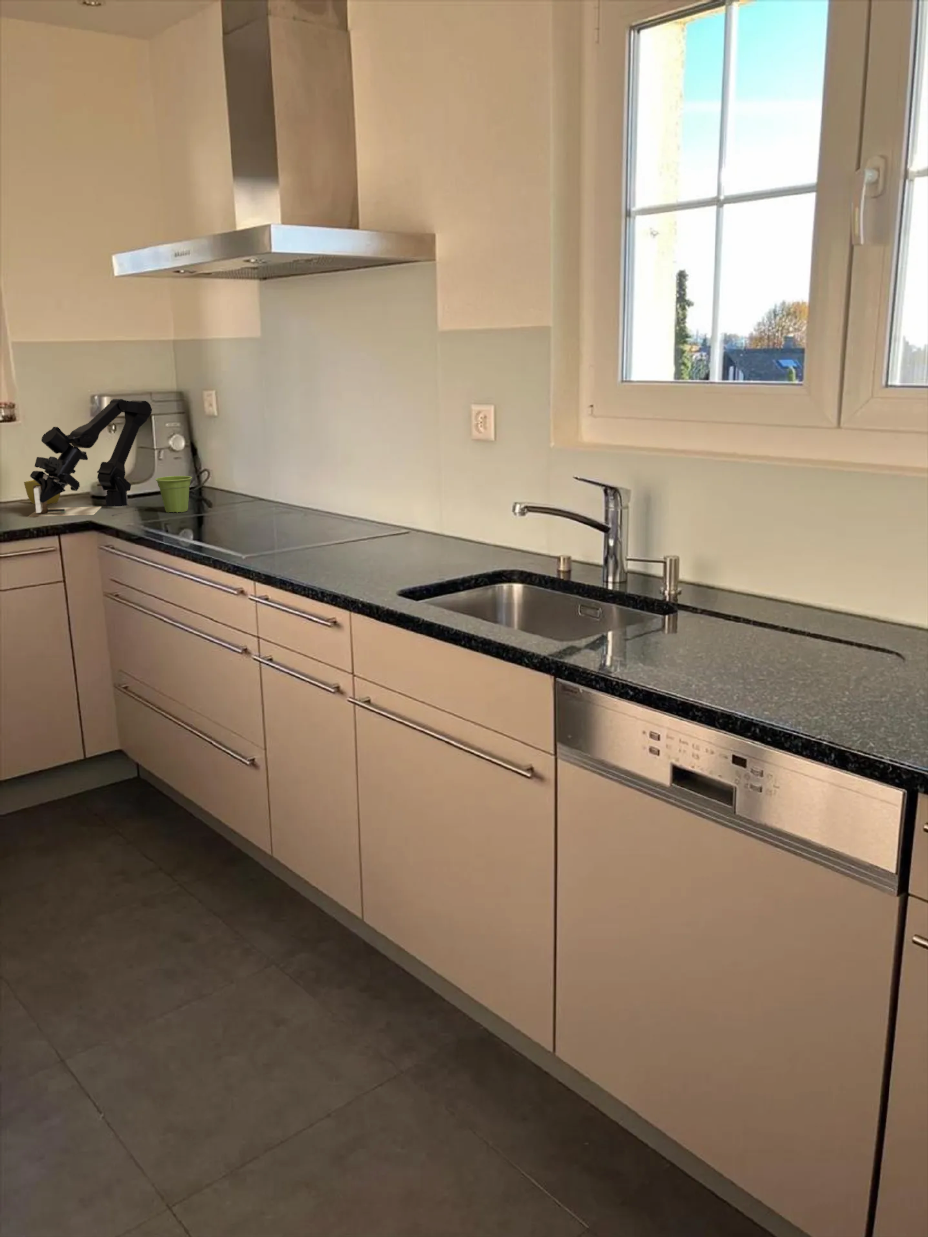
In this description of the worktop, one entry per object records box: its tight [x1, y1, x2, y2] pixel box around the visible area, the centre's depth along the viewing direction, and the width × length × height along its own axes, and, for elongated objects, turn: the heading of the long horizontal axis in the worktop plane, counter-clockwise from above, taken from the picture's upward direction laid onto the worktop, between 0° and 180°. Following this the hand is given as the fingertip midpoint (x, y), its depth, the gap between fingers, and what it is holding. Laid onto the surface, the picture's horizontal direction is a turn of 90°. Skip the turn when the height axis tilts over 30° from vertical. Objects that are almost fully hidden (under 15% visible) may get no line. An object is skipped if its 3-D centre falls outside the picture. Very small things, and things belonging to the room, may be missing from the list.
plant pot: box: [154, 475, 193, 513], centre depth 339 cm, size 12×12×11 cm
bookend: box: [33, 485, 65, 513], centre depth 326 cm, size 10×9×9 cm
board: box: [27, 506, 102, 518], centre depth 334 cm, size 20×18×1 cm
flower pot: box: [23, 479, 61, 505], centre depth 352 cm, size 9×9×9 cm
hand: (41, 501), depth 322 cm, fingers closed
